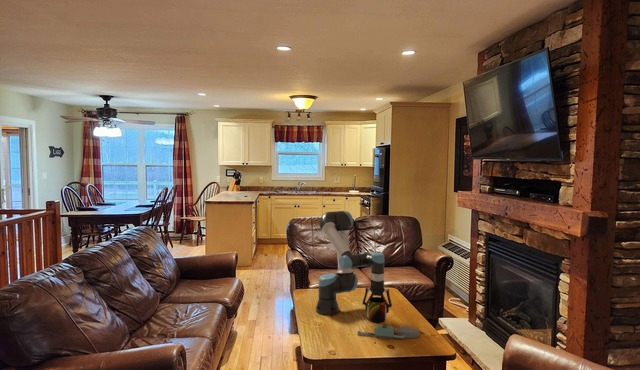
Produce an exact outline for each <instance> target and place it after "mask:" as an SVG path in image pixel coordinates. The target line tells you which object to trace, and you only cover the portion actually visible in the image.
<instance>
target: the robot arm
mask: <svg viewBox="0 0 640 370" xmlns="http://www.w3.org/2000/svg"><path fill="white" fill-rule="evenodd" d="M318 222H319V229H320V231H321V232H322V233H323V234H324V235H325V236H326V237H327V239H328V241H329V242H330V243H331V245H332V246H333V249H334V250H335V252H336V255H337V257H336V259H337V271H335V273H330V272H329V273H324V274H321V275H320V276H319V277H318V282H317V283H318V299H317V303H316V306H315V311H316V313H317V314H320V315H323V316H325V315H327V316H331V315H335V314H338V313H339V312H340V306H339V303H338V299H337V294H342V293H351V292H353V291H355V290H356V289H357V287H358V285H359V284H358V283H359V282H358V281H359V279H358V277H357V274H356V273H355V272H354V270H353V269H354V268H360V267H369V268H370V287H365V294H364V296H363V299H362V302H361V303H362V305H363V306H365V307H364V308H365V310H364V311H365V312H366V318H368V314H369V300H371V299H372V297H381V298H382V300H383V301H385V320H387V314H389V310H390V308H392V306H393V303H392V299H391V296H390V289H389V288H388V289H386V288H385V261H386V260H385V254H384V253H382V252H378V251H377V252H375V251H374V252H372V253H371V252H368V251H361V252H360V253H356V254H354V253H352V251H351V249H350V239H349V238H350V237H349V233H350V231H351V228H352V227H353V225H354V218H353V216H352V214H351V213H350V212H349V211H347V210H338V211H336V210H335V211H327V212H324V213H323V214H322V215H321V216H320V218H319V221H318ZM369 292H371V294H369V295H370V296H369V297H368V299H367V296H368V293H369ZM384 293H385V294H386V297H385V296H384ZM386 298H387V299H386Z"/></svg>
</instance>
